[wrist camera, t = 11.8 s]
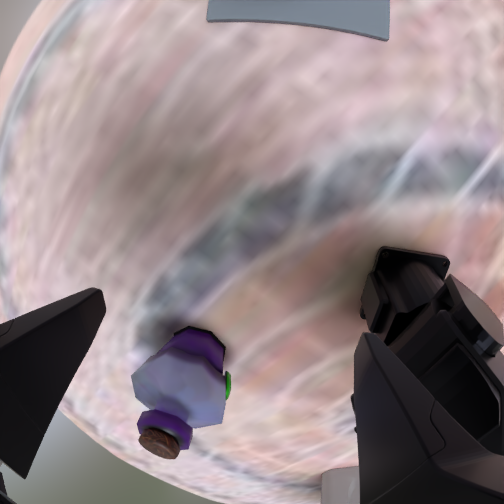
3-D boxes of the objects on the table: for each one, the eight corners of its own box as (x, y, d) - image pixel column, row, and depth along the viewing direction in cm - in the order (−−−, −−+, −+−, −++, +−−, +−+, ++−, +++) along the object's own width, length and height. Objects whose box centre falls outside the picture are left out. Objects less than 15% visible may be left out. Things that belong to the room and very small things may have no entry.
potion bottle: (251, 375, 29) (229, 480, 18) (176, 376, 31) (138, 465, 20) (228, 309, 25) (186, 427, 15) (145, 315, 27) (84, 409, 17)
